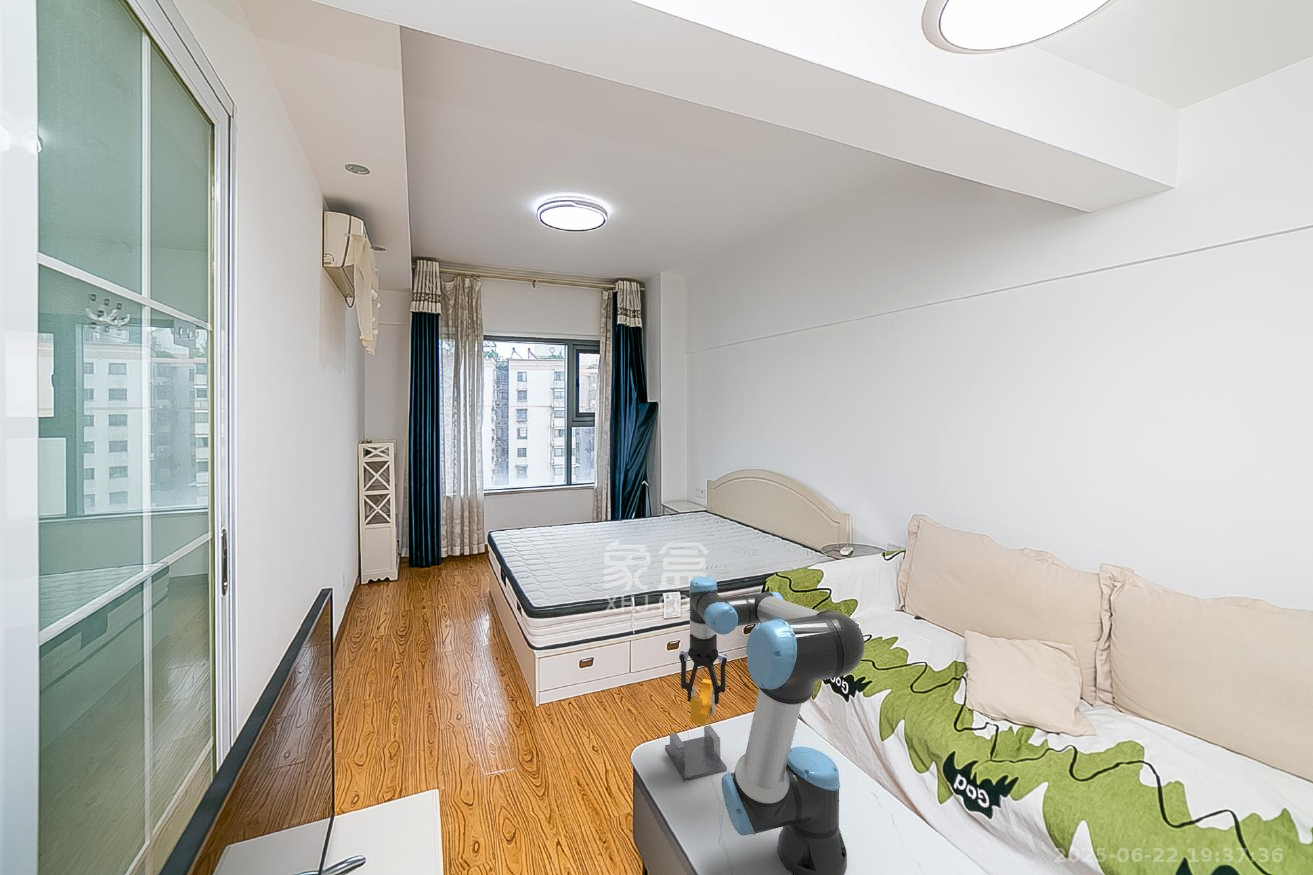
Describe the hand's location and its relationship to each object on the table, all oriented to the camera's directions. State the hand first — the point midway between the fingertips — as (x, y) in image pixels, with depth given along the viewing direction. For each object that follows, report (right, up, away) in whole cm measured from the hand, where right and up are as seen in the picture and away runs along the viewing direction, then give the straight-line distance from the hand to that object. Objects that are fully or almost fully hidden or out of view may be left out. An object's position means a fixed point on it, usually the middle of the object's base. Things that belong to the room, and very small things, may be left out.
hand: (703, 712), depth 154 cm
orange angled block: (0, 0, +1) cm, 1 cm away
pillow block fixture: (-2, -17, +6) cm, 18 cm away
